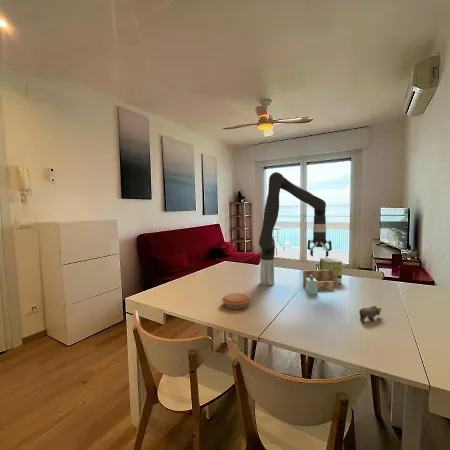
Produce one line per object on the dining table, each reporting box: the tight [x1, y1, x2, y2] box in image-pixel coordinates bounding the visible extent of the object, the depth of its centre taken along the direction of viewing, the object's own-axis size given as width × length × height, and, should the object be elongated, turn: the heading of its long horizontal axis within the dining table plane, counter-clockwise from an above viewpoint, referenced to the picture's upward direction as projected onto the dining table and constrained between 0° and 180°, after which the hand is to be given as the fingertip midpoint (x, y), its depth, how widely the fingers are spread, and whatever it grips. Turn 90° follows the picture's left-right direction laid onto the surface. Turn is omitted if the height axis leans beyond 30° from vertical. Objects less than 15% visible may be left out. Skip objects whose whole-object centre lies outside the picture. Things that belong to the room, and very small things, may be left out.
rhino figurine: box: [358, 305, 382, 324], centre depth 114 cm, size 4×14×6 cm, turn 113°
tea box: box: [319, 257, 343, 284], centre depth 177 cm, size 15×10×15 cm, turn 179°
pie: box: [221, 292, 252, 310], centre depth 135 cm, size 16×16×5 cm
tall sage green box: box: [305, 275, 318, 295], centre depth 153 cm, size 5×6×10 cm
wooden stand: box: [302, 269, 339, 291], centre depth 162 cm, size 22×10×10 cm, turn 88°
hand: (319, 256), depth 159 cm, fingers open, 8 cm apart
